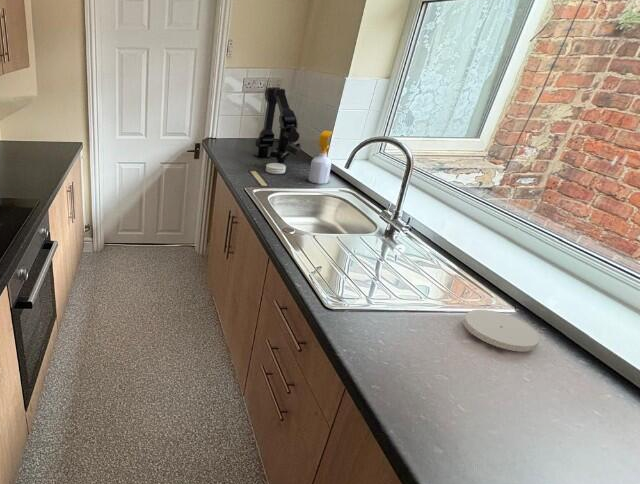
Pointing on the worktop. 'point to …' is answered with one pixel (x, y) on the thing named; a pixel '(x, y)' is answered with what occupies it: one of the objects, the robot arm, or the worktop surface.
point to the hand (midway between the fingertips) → (280, 166)
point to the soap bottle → (321, 162)
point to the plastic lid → (501, 330)
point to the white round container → (275, 168)
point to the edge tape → (258, 178)
